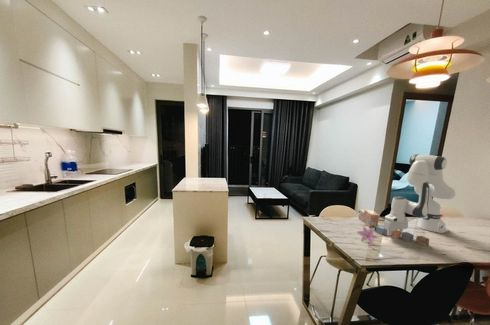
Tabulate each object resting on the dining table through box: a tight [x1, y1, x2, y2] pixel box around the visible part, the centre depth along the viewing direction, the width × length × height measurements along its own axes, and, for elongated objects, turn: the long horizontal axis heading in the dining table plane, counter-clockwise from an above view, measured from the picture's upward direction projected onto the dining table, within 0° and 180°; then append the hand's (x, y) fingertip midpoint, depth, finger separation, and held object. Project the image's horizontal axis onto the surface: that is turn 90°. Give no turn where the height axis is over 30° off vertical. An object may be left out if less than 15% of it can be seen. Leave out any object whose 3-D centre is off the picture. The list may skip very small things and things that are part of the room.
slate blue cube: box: [375, 225, 388, 236], centre depth 158 cm, size 5×5×5 cm
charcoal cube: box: [400, 231, 414, 243], centre depth 148 cm, size 5×5×5 cm
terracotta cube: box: [388, 230, 402, 239], centre depth 152 cm, size 5×5×5 cm
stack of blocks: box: [358, 209, 380, 229], centre depth 177 cm, size 21×6×12 cm, turn 173°
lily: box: [356, 226, 379, 245], centre depth 144 cm, size 12×12×10 cm
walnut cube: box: [415, 235, 430, 247], centre depth 142 cm, size 5×5×5 cm
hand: (395, 234), depth 153 cm, fingers open, 7 cm apart
